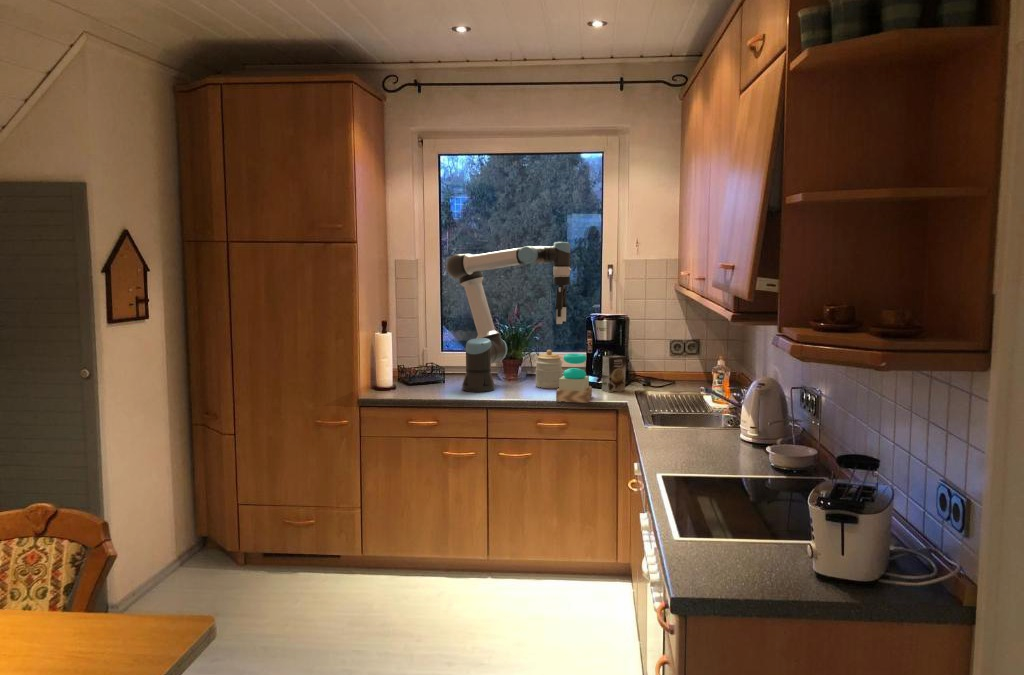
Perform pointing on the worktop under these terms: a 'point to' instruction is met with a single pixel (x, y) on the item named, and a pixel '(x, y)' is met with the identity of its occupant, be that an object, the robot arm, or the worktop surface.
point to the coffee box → (613, 373)
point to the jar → (548, 370)
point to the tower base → (574, 395)
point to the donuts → (574, 372)
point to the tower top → (573, 384)
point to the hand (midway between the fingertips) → (561, 322)
